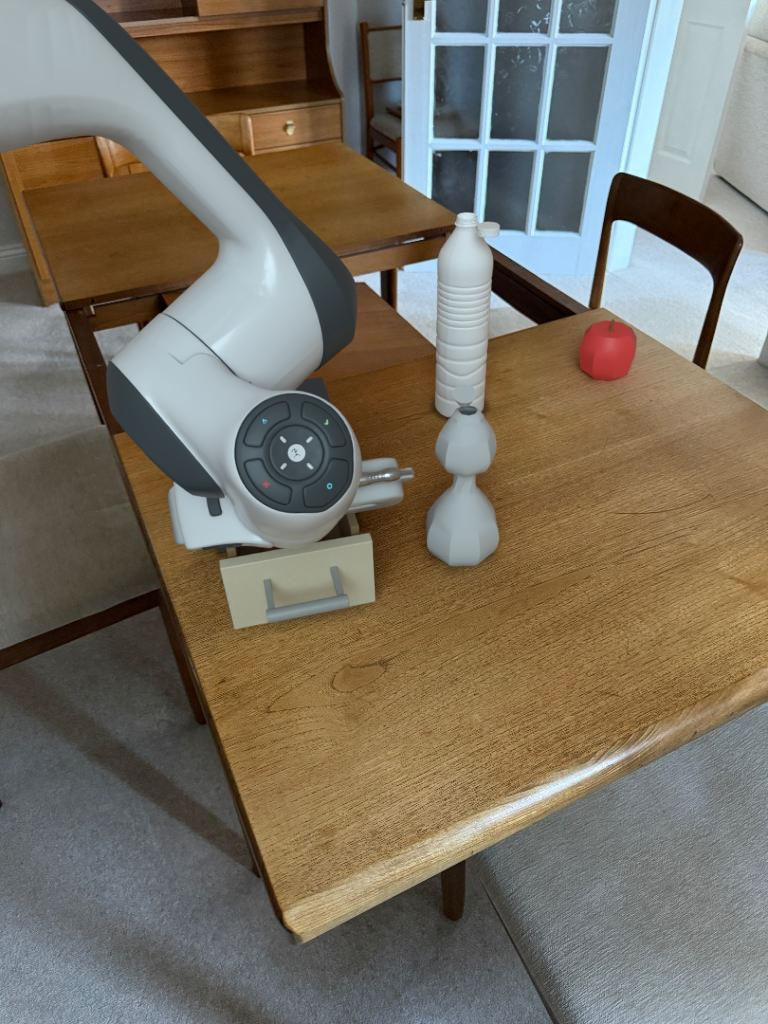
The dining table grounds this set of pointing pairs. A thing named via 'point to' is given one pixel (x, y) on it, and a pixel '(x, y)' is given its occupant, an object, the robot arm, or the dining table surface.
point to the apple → (607, 350)
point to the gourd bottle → (464, 488)
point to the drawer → (300, 577)
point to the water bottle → (463, 311)
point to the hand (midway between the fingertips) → (287, 510)
